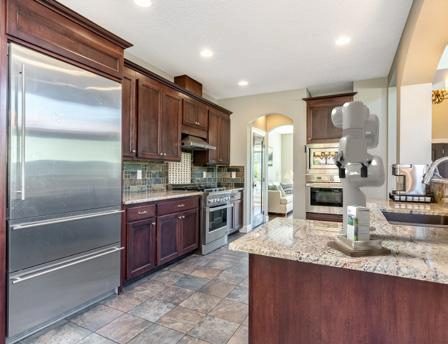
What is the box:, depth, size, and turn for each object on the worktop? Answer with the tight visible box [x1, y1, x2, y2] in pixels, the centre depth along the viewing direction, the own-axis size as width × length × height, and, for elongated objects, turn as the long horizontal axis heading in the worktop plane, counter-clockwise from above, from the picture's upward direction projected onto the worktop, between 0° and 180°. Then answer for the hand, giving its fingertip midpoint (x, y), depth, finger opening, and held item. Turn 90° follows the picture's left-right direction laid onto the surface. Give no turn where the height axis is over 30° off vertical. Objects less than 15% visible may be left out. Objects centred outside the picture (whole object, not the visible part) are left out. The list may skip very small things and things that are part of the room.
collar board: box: [326, 234, 392, 258], centre depth 98 cm, size 16×14×4 cm
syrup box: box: [347, 206, 371, 241], centre depth 98 cm, size 6×6×14 cm
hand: (353, 177), depth 103 cm, fingers open, 9 cm apart
